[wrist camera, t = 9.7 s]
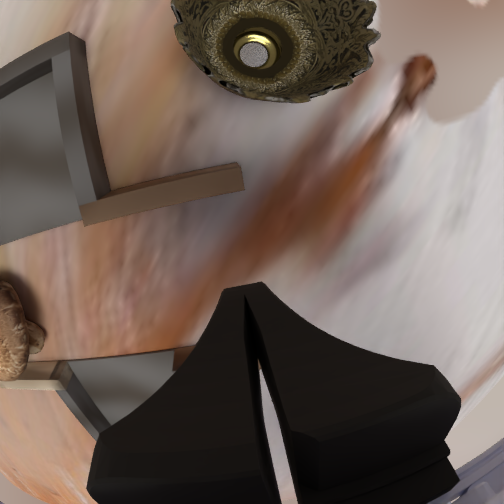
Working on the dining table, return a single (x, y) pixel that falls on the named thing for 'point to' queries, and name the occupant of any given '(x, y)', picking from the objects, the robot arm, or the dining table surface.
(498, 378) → the dining table surface
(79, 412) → the grey brown flat frame
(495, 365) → the dining table surface
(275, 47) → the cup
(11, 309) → the mushroom
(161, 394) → the robot arm
